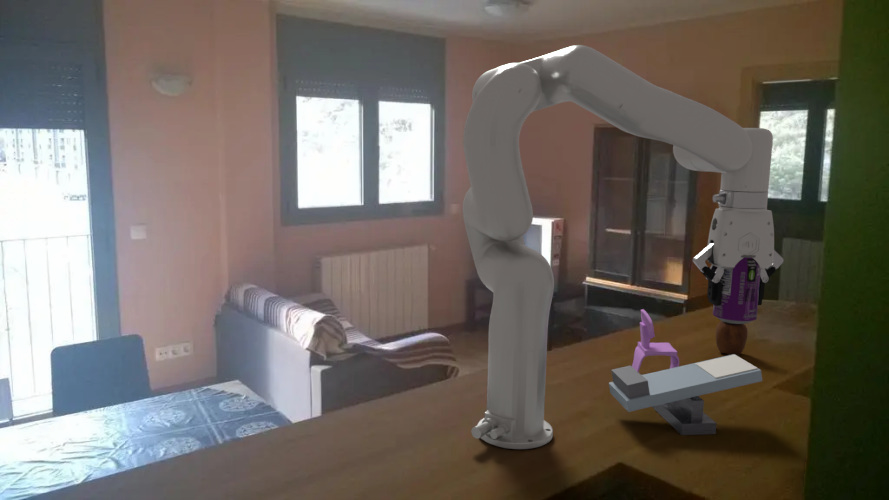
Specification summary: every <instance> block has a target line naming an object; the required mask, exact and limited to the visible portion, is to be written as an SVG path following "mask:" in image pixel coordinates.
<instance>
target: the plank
mask: <svg viewBox="0 0 889 500" xmlns="http://www.w3.org/2000/svg"><path fill="white" fill-rule="evenodd" d="M610 371H611V377H612V381H610V382H608V387H609V393H610V395H612V397H614V399H616V401H617V402H618V403H619V404H620V405H621V406H622V407H623V408H624V409H625V410H626V411H627V413H630V412H635V411H638V410H642V409H647V408H653V407H652V406H656V405H661V404H665V403H669V402H674V401H678V400H682V399H687V398H691V397H695V396H699V397H700V396H703V395H704V396H705V395H707V394H712V393H717V392H721V391H726V390H730V389H734V388H738V387H743V386H746V385H753V384H756V383H760V382H763V376H762V369H760V368H758V367H757V366H755V365H753V364H752V363H750V362H748V361H747V360H745V359H743V358H742V357H740V356H739V355H735V354H732V355H724V356H719V357H715V358H711V359H707V360H702V361H698V362H694V363H688V364H685V365H679V367H675V368H671V369H670V368H667V369H662V370H658V371H655V372H650V373H649V372H648V373H646V374H645V373H644V374H641V373H640V371H639V372H637V371H636V370H635V369H634V368H633V367H632V364H631V365H626V366H623V367H617V368H614V369H611V370H610Z"/></svg>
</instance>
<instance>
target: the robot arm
mask: <svg viewBox="0 0 889 500" xmlns="http://www.w3.org/2000/svg"><path fill="white" fill-rule="evenodd" d="M471 95H472V96H471V98H472V104H471V105H470V109H469V110H468V113H467V117H466V120H465V124H464V127H463V128H464V129H463V136H462V137H463V138H462V139H463V140H462V141H463V142H462V143H463V144H462V145H463V153H464V159H465V164H466V169H467V175H468V179H469V183H470V187H469V189H468V190H467V191H466V193H465V195H464V198H463V202H462V217H463V223H464V227H465V231H466V235H467V239H468V243H469V248H470V251H471V254H472V259H473V262H474V266H475V269H476V272H477V276H478V278H479V280H480V281H481V283H482V284H483V285H484V286H485V287H486V288H487V289H488V290H489V291H491V292H492V294H493V295H492V296H493V297H492V305H491V310H490V314H489V315H490V316H489V324H488V351H487V352H488V354H487V355H488V356H487V357H488V358H487V384H486V385H487V389H486V391H487V392H486V394H487V395H486V411H485V412H484V417H483V418H481V419H480V420H479V421H478V423H477V425H475V426H472V428H471V431H470V432H471V433H470V434H471V435H472V437H473V438H474V439H477V440H478V439H481V440H482V441H484V442H486V443H487V444H490V445H492V446H495V447H499V448H503V449H509V450H511V449H512V450H530V449H534V448H535V449H536V448H539V447H542V446H544V445H547V444H548V443H550V441H551V440H552V439H553V432H554V429H553V426H551V424H550V423H549V422H547V421H546V420H545V405H546V404H545V403H546V402H545V399H546V378H547V377H546V375H547V356H548V355H547V352H548V348H547V347H548V346H547V345H548V330H549V329H548V326H549V317H550V311H551V304H552V299H553V296H554V288H555V277H554V272H553V269H552V266H551V265H550V262H548V260H547V258H546V257H544V255H543V254H542V253H540V252H539V251H537V250H535V249H534V248H531V247H528V246H527V245H526V244H525V240H524V236H525V235H527V233H528V231H529V230H530V228H531V226H532V223H533V219H534V210H533V206H532V202H531V197H530V193H529V189H528V185H527V181H526V176H525V172H524V168H523V163H522V157H521V153H520V152H521V151H520V135H521V131H522V128H523V125H524V123H525V121H526V120H527V118H528V117H529V115H530V114H532V113H533V112H535V111H539V110H543V109H546V108H549V107H553V106H556V105H558V104H562V103H567V102H571V103H574V104H576V105H577V106H579V107H580V108H583V109H584V110H586V111H588V112H589V113H591V114H593V115H595V116H597V117H598V118H600V119H602V120H604V121H606V122H607V123H609V124H610V125H613V126H614V127H616V128H617V129H619V130H620V131H623V132H624V133H627V134H631V135H633V136H636V137H640V138H645V139H650V140H654V141H660V142H664V143H667V144H669V145H673V147H672V153H673V157H674V159H675V160H676V162H677V163H678V164H679V165H680V166H682V167H683V168H685V169H687V170H690V171H696V172H706V173H707V172H710V173H711V172H713V173H721V176H720V190H719V191H718V193H717V194H713V195H712V202H713V203H717V204H718V208H715V210H714V213H713V216H712V219H711V223H710V226H709V233H708V239H707V246H706V247H704V248H703V249H702V250H701V251H700V252H699V253H697V254H696V255H695V256H694V257H693V258H692V263H694V265H695V266H696V267H697V269H698V270H699V272H700V273H701V274H702V275H703V277H705V279H706V280H707V281H708V282H707V293H706V295H707V296H706V297H707V300H708V303H710V304H712V305H716V306H719V305H721V296H722V283H720V279H721V277H722V275H723V273H724V268H725V269H732V268H734V267H735V265H736V264H737V263H738V262H739V261H740V260H741V259H743V258H742V257H741V255H756V257H754V258H753V259H755V260H756V261H757V263H758V264H759V266H760V269H761V274H760V286H759V297H758V306H762V304H763V299H764V298H765V297H764V295H765V284H766V283H768V282H769V279H770V278H771V276H772V275H774V274H775V273H776V271H777V269H779V268H780V266H781V265H782V264H784V261H785V260H784V258H783V257H782V255H781V254H780V253H778V252H777V251H776V250H775V227H774V226H775V225H774V219H773V211H772V210H771V209H770V210H769V209H768V198H769V189H770V188H769V187H770V185H769V184H770V177H771V176H770V175H771V174H770V173H771V164H772V153H773V144H774V143H773V141H774V140H773V139H774V137H773V136H774V135H773V132H772V131H771V130H770V129H768V128H761V127H742V126H741V125H740V124H738V123H737V122H735V121H734V120H732V119H730V118H729V117H727V116H725V115H724V114H722V113H720V112H719V111H717V110H715V109H714V108H712V107H709V106H708V105H705V104H704V103H700V102H699V101H696V100H694V99H690V98H689V97H685V96H683V95H681V94H679V93H675V92H673V91H671V90H669V89H667V88H663V87H660V86H657V85H655V84H653V82H652V83H651V82H650V81H648V80H647V79H644V78H643V77H641V76H640V75H638V74H636V73H635V72H633V71H632V70H631V69H628V68H627V67H625V66H623V65H622V64H620V63H619V62H616V60H613V59H611V58H610V57H609V56H607V55H605V54H604V53H602V52H600V51H598V50H596V49H594V48H593V47H590V46H587V45H583V44H576V45H575V44H574V45H570V46H568V47H563V48H561V49H559V50H556V51H552V52H550V53H547V54H544V55H541V56H538V57H534V58H532V59H528V60H524V61H521V62H510V63H506V64H502V65H500V66H497V67H495V68H492V69H490V70H487V71H485V72H484V73H483V74H481V75H480V76H479V77H478V78H477V79H476V81H475V83H474V85H473V87H472V93H471ZM706 261H707V262H708V263H709V264H711V265H710V267H709V266H708V265H707V263H706Z"/></svg>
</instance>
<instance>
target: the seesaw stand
mask: <svg viewBox="0 0 889 500" xmlns="http://www.w3.org/2000/svg"><path fill="white" fill-rule="evenodd" d="M704 405H705V400H704V399H703V398H701V397H700V396H695V397H691V398H687V399H682V400H678V401H674V402H669V403H665V404H661V405H656V406H652V407H651V408H652V409H653V410H655V412H657V414H659V416H661V417H662V418H663V419H664V420H665V422H667V423H669V425H670V426H671V427H672V428H673V429H675V430H676V431H677V433H679V434H680V436H699V435H700V436H701V435H716V434H717V433H716V432H717V422H716V421H715V420H713V419H712V418H711V417H710V416H709V415H708V414H706V413H705V412H704Z"/></svg>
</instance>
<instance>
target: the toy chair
mask: <svg viewBox="0 0 889 500" xmlns="http://www.w3.org/2000/svg"><path fill="white" fill-rule="evenodd" d="M640 318H641V321H640V322H639V330H640V332H639V333H640V341H637V346H636V347H635V350H634V354H633V361H632V364H631V366H632V367H633V368H634V369H635V370H636V371H637V372H639V373H640V369H641V366H642V363H643V362H644V360H645V358H646V357H649V356H650V357H651V356H666V357H670V366H669V369H671V368H675V367H679V366H680V358H679V356H678V351H677V350H676V349H675V348H674V346H672V345H671V343H670V342H651V339H653V338H655V337H656V335H655V330H654V323H653V320H652V318H651V317H650V314H648V312H647V311H646V310H645V309H644V308H643V309H640Z"/></svg>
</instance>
